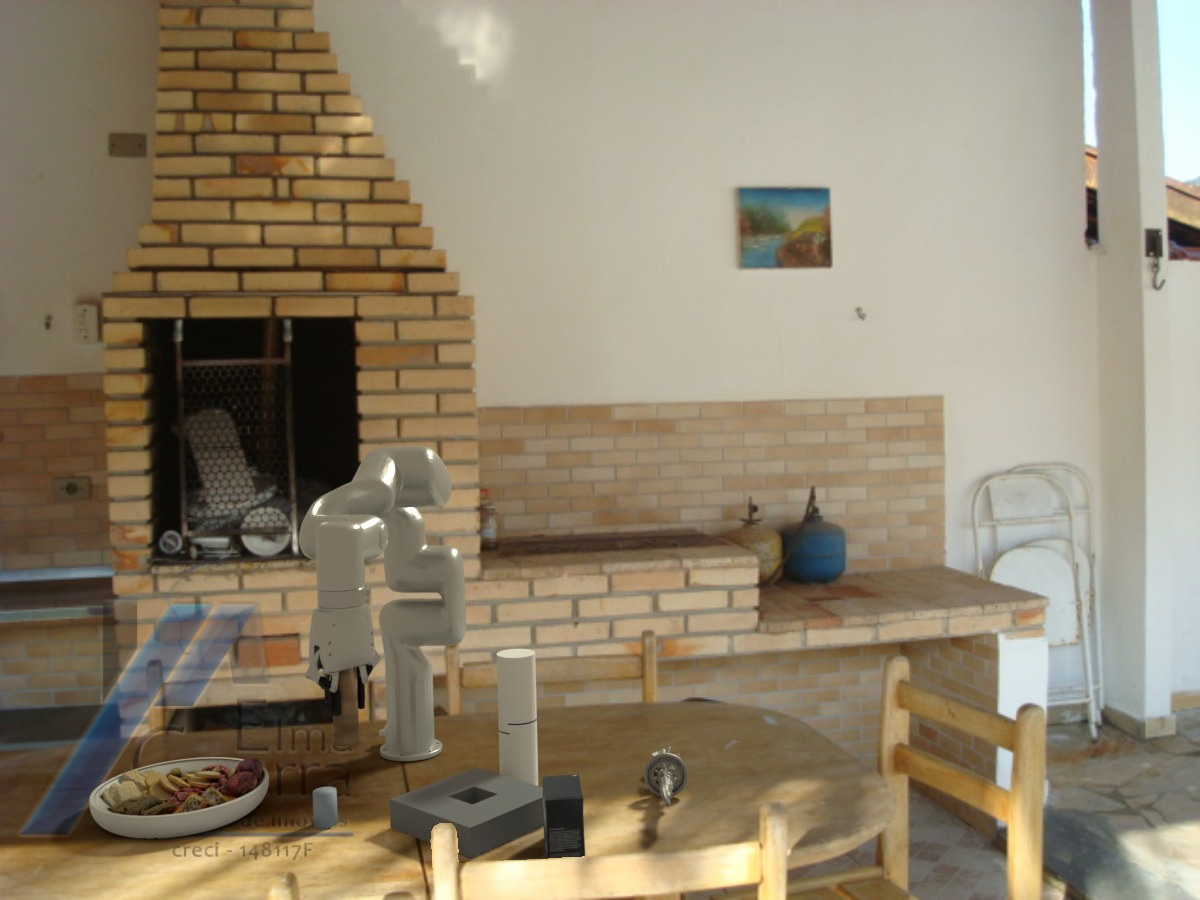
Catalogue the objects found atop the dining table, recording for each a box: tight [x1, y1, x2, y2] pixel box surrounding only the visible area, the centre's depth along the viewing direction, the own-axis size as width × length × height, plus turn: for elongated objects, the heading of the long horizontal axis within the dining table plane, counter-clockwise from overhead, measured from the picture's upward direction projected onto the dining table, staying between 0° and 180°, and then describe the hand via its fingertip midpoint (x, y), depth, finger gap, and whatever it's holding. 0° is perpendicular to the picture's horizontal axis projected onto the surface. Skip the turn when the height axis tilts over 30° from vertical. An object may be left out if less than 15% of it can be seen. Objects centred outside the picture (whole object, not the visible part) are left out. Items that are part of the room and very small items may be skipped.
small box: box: [542, 773, 586, 859], centre depth 183 cm, size 11×6×10 cm, turn 5°
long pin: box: [332, 667, 360, 747], centre depth 183 cm, size 4×4×14 cm
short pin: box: [312, 786, 339, 830], centre depth 195 cm, size 4×4×6 cm
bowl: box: [88, 756, 270, 840], centre depth 203 cm, size 30×30×8 cm
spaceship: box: [643, 745, 689, 807], centre depth 205 cm, size 8×35×8 cm
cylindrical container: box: [496, 648, 539, 786], centre depth 211 cm, size 7×7×25 cm
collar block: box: [389, 767, 544, 859], centre depth 194 cm, size 20×20×5 cm
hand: (345, 709), depth 183 cm, fingers closed on long pin, 4 cm apart
